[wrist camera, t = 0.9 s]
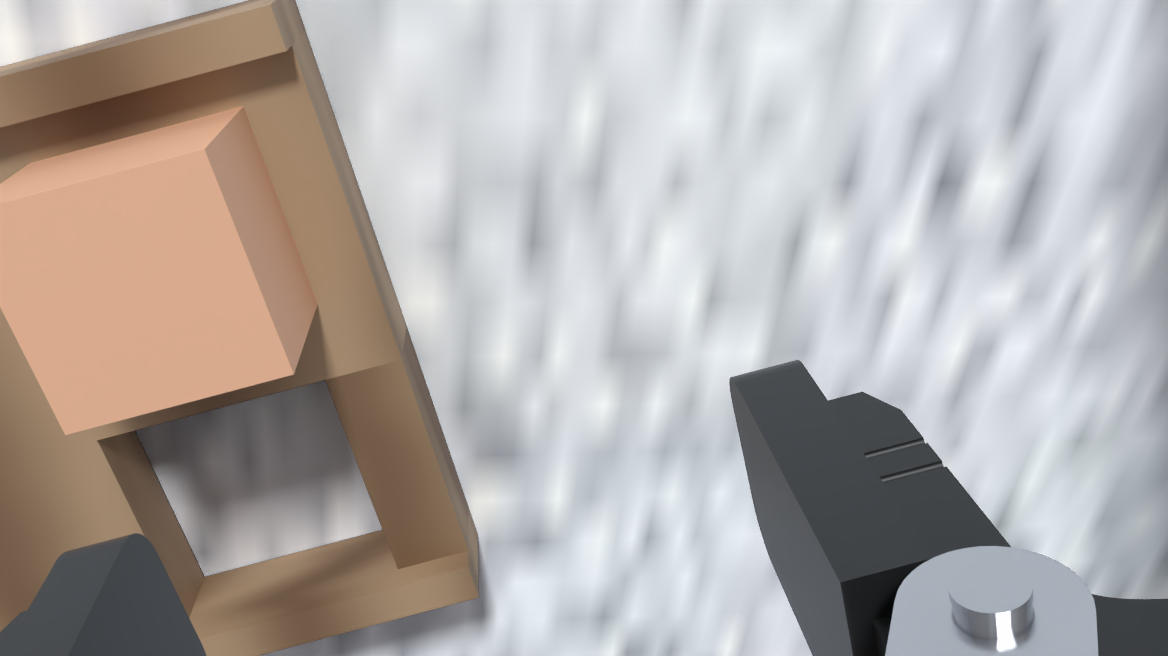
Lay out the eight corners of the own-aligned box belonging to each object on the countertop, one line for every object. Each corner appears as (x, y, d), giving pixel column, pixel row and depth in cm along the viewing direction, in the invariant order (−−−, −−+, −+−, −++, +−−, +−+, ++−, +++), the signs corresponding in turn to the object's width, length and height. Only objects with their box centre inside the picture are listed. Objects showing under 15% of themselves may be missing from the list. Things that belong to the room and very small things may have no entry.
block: (243, 106, 25) (204, 149, 21) (317, 303, 27) (293, 374, 23) (29, 163, 25) (-47, 216, 21) (120, 356, 27) (65, 435, 23)
